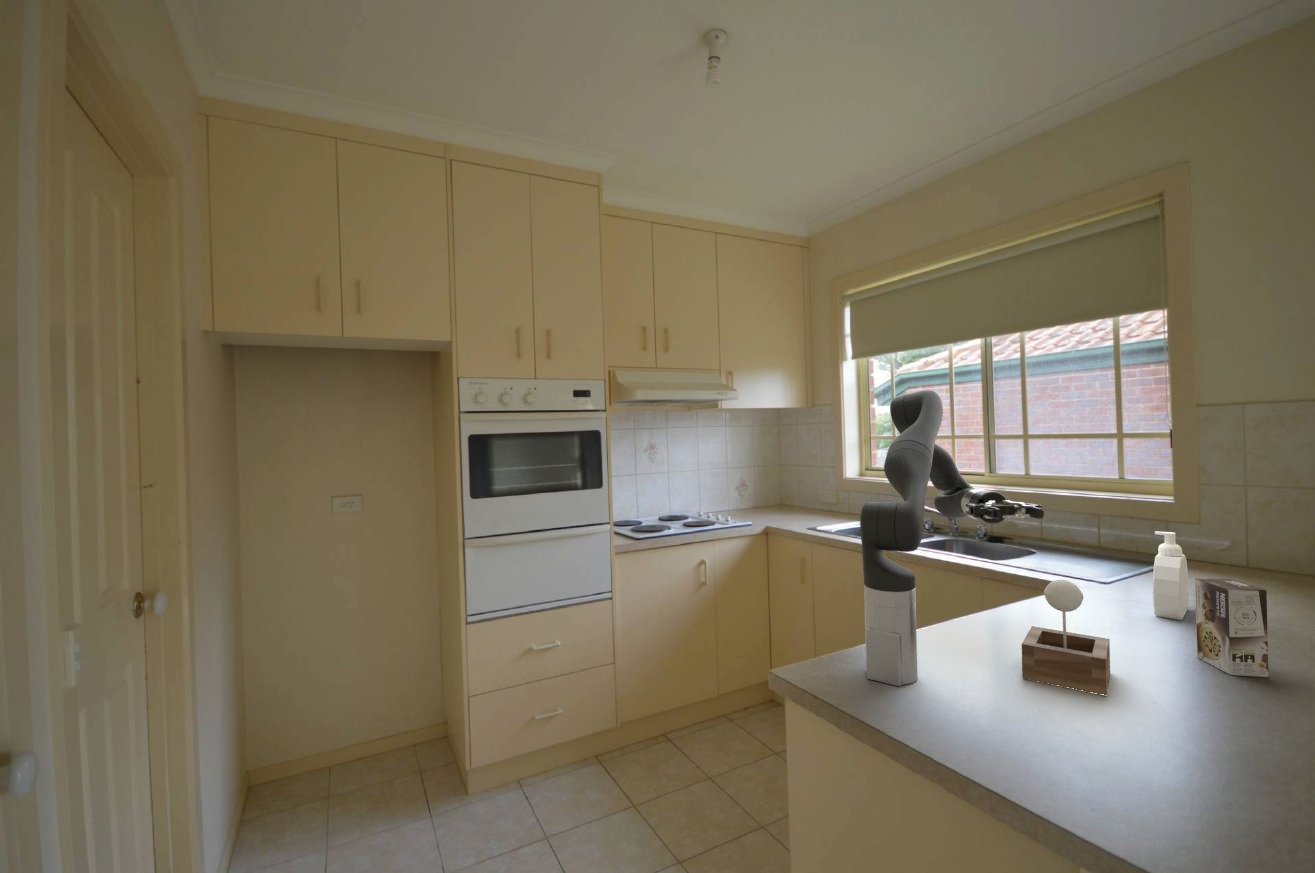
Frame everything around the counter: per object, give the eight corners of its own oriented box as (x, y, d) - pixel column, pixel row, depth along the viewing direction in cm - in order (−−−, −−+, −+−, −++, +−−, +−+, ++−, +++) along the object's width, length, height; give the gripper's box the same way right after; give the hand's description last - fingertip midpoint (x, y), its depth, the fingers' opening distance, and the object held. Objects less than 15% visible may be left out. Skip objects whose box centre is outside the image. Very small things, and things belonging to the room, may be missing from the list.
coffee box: (1271, 677, 107) (1269, 590, 107) (1229, 675, 108) (1227, 589, 108) (1232, 658, 116) (1231, 577, 116) (1195, 657, 117) (1193, 577, 117)
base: (1106, 696, 101) (1105, 659, 101) (1022, 678, 109) (1021, 643, 109) (1110, 672, 111) (1109, 638, 111) (1032, 657, 119) (1031, 626, 119)
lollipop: (1079, 655, 112) (1076, 577, 112) (1091, 666, 106) (1088, 584, 106) (1041, 652, 114) (1039, 575, 114) (1051, 663, 108) (1048, 582, 108)
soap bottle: (1161, 603, 152) (1159, 527, 152) (1188, 607, 148) (1187, 529, 148) (1151, 617, 141) (1149, 535, 141) (1180, 622, 137) (1178, 538, 137)
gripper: (952, 490, 140) (984, 496, 124) (1015, 489, 139) (1055, 495, 122) (953, 521, 140) (984, 531, 124) (1015, 521, 138) (1056, 531, 122)
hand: (1019, 513), depth 123 cm, fingers open, 8 cm apart
